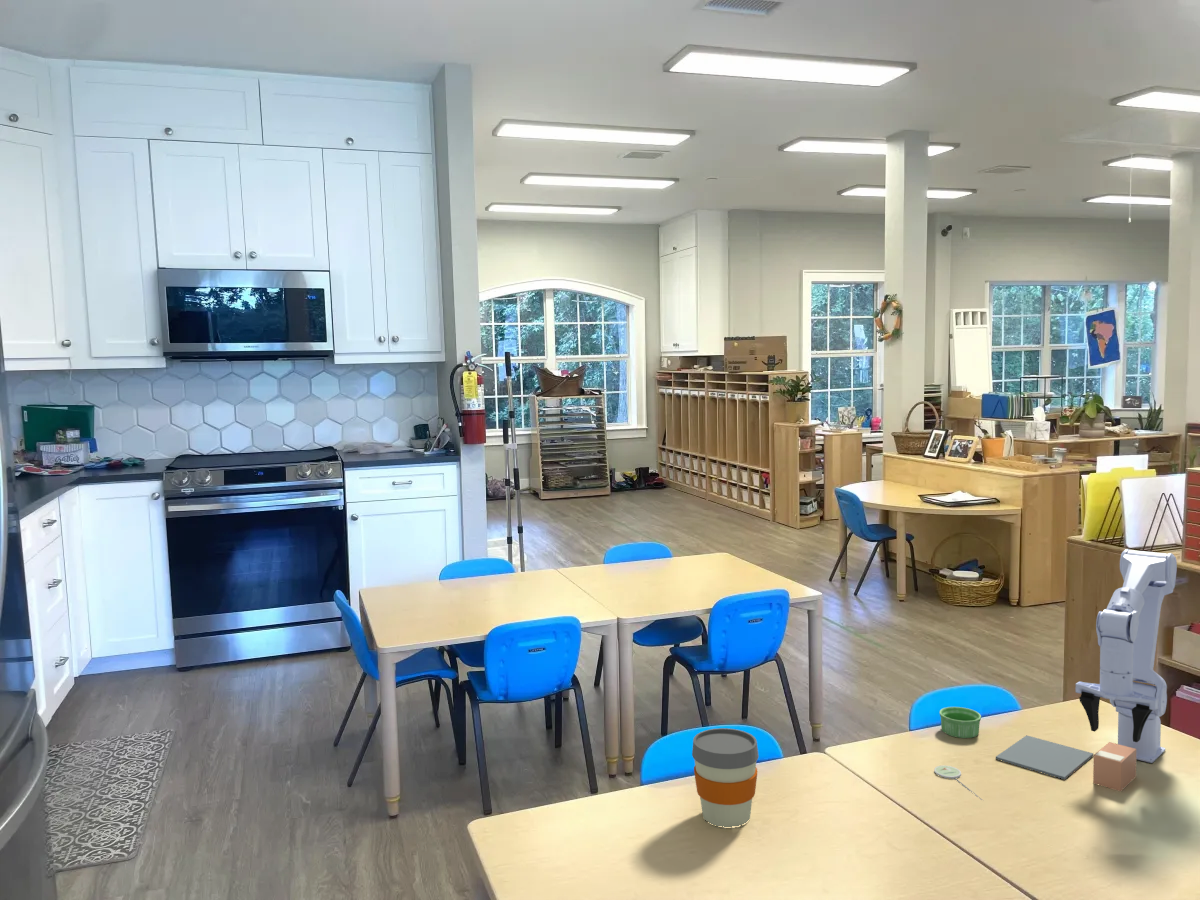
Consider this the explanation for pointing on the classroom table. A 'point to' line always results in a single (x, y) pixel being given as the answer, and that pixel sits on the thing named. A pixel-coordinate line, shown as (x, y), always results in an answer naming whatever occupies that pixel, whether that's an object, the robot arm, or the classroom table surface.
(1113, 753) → the brick
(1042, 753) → the mat
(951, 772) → the sign
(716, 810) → the reusable coffee cup
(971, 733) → the ramekin
